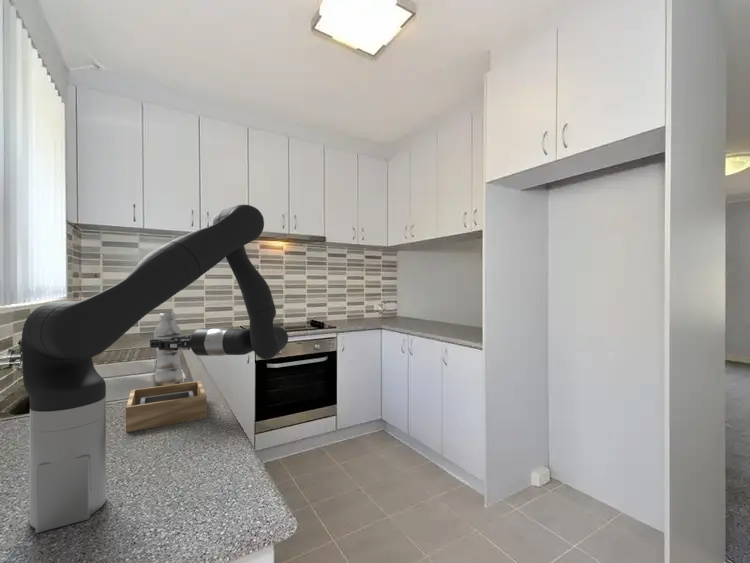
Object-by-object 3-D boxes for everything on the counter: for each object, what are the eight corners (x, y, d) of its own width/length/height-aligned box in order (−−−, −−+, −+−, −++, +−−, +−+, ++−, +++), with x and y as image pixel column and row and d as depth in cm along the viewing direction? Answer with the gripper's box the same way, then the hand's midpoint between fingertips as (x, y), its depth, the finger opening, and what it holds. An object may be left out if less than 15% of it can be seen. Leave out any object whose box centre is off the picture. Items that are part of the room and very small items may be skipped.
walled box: (206, 417, 97) (206, 395, 97) (126, 432, 88) (125, 407, 88) (200, 400, 113) (200, 380, 113) (131, 410, 103) (131, 389, 103)
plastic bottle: (186, 383, 101) (184, 312, 101) (159, 389, 96) (157, 314, 96) (177, 380, 105) (176, 311, 105) (151, 385, 100) (150, 313, 100)
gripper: (229, 325, 105) (177, 325, 108) (197, 331, 91) (139, 331, 94) (229, 350, 105) (178, 350, 108) (197, 361, 91) (139, 360, 94)
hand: (160, 341), depth 101 cm, fingers closed on plastic bottle, 6 cm apart
